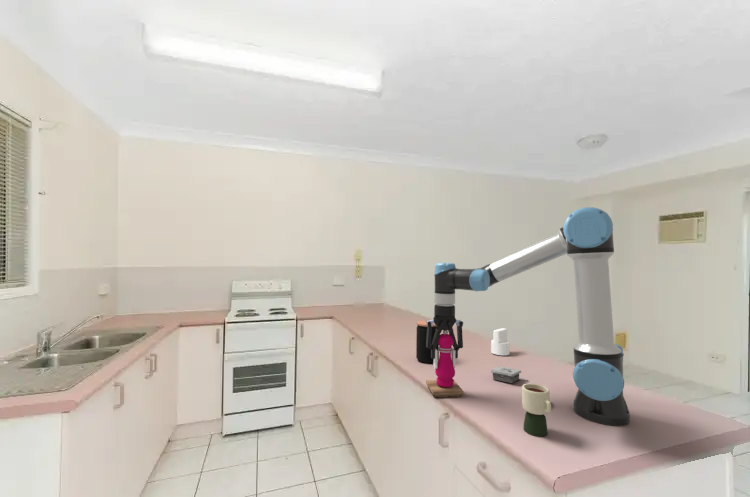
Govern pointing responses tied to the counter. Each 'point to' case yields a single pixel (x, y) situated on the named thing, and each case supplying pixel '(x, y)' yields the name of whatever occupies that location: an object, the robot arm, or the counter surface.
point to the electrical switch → (506, 374)
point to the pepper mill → (445, 361)
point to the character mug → (535, 408)
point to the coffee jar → (424, 343)
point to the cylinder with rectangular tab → (500, 342)
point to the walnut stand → (444, 389)
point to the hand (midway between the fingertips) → (444, 367)
